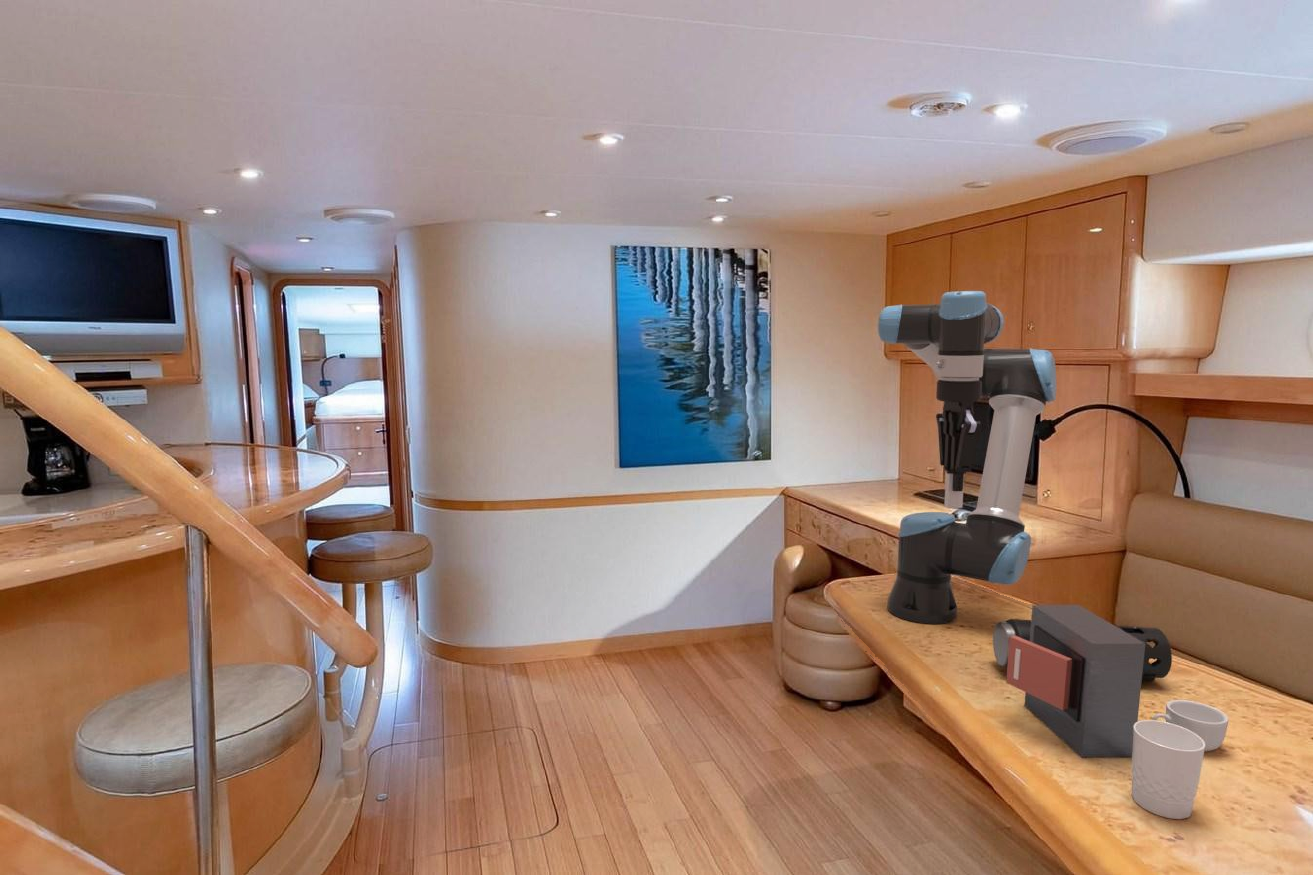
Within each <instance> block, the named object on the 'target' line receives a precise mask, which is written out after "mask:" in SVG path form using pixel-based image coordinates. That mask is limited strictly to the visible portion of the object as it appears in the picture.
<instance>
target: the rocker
mask: <svg viewBox="0 0 1313 875" xmlns="http://www.w3.org/2000/svg"><path fill="white" fill-rule="evenodd" d="M1006 668H1007V669H1006V680H1005V683H1006V684H1007V685H1010V686H1012V687H1014V688H1016V689H1019V690H1021V691H1023V692H1024V693H1025V692H1026V693H1028V694H1030V695H1033V696H1035V697H1037V698H1039V699H1041V700H1043V701H1045V702H1047V703H1049V704H1051V705H1053V706H1055V707H1057V708H1059V709H1061V710H1065V709H1068V702H1069V691H1070V679H1071V668H1072V659H1071V658H1068V657H1066V656H1064V655H1061V654H1059V653H1056V652H1054V651H1051V650H1049V649H1047V648H1044V647H1042V646H1039V645H1037V644H1034V643H1032V642H1030V641H1027V640H1025V639H1022V638H1020V637H1017V636H1015V635H1014V636H1010V641H1009V654H1008V667H1006Z"/></svg>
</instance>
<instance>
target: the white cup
mask: <svg viewBox="0 0 1313 875" xmlns="http://www.w3.org/2000/svg"><path fill="white" fill-rule="evenodd" d="M1204 750H1205V742H1204V741H1203V739H1202V738H1201V737H1199V736H1198V735H1197V734H1195V733H1194V732H1192V731H1190V730H1188V729H1186V728H1183V727H1181V726H1178V725H1175V724H1171V723H1168V722H1166V721H1162V720H1158V719H1157V720H1153V719H1143V720H1138V721H1137V722H1136V723H1135V724H1134V726H1133V747H1132V758H1131V779H1132V780H1131V796H1132V799H1133V801H1134V802H1135V803H1136V804H1137V805H1138V806H1140V807H1141V808H1142V809H1143V810H1146V811H1148V812H1149V813H1152V814H1154V815H1156V816H1160V817H1163V818H1167V819H1172V820H1173V819H1175V820H1183V819H1187V818H1190V817H1191V814H1192V813H1193V809H1194V804H1195V803H1194V802H1195V798H1196V797H1197V792H1198V787H1199V783H1200V779H1201V778H1200V777H1201V773H1202V766H1203V759H1204V755H1205V751H1204Z"/></svg>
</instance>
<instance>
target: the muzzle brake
mask: <svg viewBox="0 0 1313 875" xmlns="http://www.w3.org/2000/svg"><path fill="white" fill-rule="evenodd" d="M1115 626H1116V627H1118V628H1119V629H1121V630H1123V631H1125V632H1126V633H1128V634H1130V635H1132V636H1133V637H1135V638H1137V639H1138V640H1140V641H1142V642H1144V643H1145V652H1144V662H1143V672H1142V681H1148V682H1149V681H1150V682H1153V681H1155V680H1156V679H1164V678H1165V677H1167V676H1168V674H1169V673H1170V671H1171V668H1172V662H1173V661H1172V660H1173V656H1172V647H1171V644H1170V642H1169V639H1168V638H1167V636H1166V634H1165V633H1164V632H1163V631H1162V630H1161V629H1160V628H1158V627H1150V626H1149V627H1148V626H1147V627H1146V626H1145V627H1144V626H1125V625H1115ZM1030 629H1031V619H1022V618H1021V619H1020V618H1019V619H1017V618H1016V619H1015V618H1010V619H1007V620H1005V621H1004V622H1003V621H998V622H997V623H995V626H994V627H993V632H992V650H993V653H994V658H995V660H996V662H997V664H998V666H1000V667H1002V668H1007V667H1008V654H1009V641H1010V636H1014V635H1015V636H1017V637H1020V638H1022V639H1025V640H1027V641H1030ZM1151 642H1152V643H1153V644H1154V646H1151V645H1150V644H1149V643H1151ZM1150 660H1155V661H1153V662H1150Z"/></svg>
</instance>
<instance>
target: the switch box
mask: <svg viewBox="0 0 1313 875" xmlns="http://www.w3.org/2000/svg"><path fill="white" fill-rule="evenodd" d="M1030 620H1031V629H1030V642H1032V643H1034V644H1037V645H1039V646H1042V647H1044V648H1047V649H1049V650H1051V651H1054V652H1056V653H1059V654H1061V655H1064V656H1066V657H1068V658H1071V659H1072V668H1071V679H1070V691H1069V702H1068V709H1065V710H1061V709H1059V708H1057V707H1055V706H1053V705H1051V704H1049V703H1047V702H1045V701H1043V700H1041V699H1039V698H1037V697H1035V696H1033V695H1030V694H1028V693H1026V692H1024V694H1025V695H1024V705H1023V706H1024V707H1025V708H1026V709H1027V710H1028V711H1030V712H1031V713H1032V715H1033V716H1035V717H1036V718H1037V719H1038V720H1039V721H1041V723H1043V724H1044V726H1046V727H1047V728H1048V729H1050V730H1051V731H1052V732H1053V733H1054V734H1055V735H1056V736H1057V737H1058V738H1059V739H1060V740H1061V741H1062V742H1064V743H1065V744H1066V745H1067V746H1068V747H1069V748H1070V749H1071V750H1073V752H1074V753H1075V754H1077V755H1078V756H1079V757H1080V758H1081V759H1122V758H1123V759H1127V758H1129V759H1132V747H1133V726H1134V724H1135V723H1136V722H1138V721H1139V711H1140V699H1141V690H1142V689H1141V688H1142V681H1143V680H1142V672H1143V662H1144V652H1145V643H1144V642H1142V641H1140V640H1138V639H1137V638H1135V637H1133V636H1132V635H1130V634H1128V633H1126V632H1125V631H1123V630H1121V629H1119V628H1118V627H1116V626H1117V625H1115V624H1112V623H1111V622H1109V621H1107V620H1106V619H1104V618H1102V617H1100V616H1098V615H1096V614H1095V613H1094V612H1092V611H1090V610H1088V609H1086V608H1085V607H1083V606H1082V605H1080V604H1032V607H1031V619H1030Z"/></svg>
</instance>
